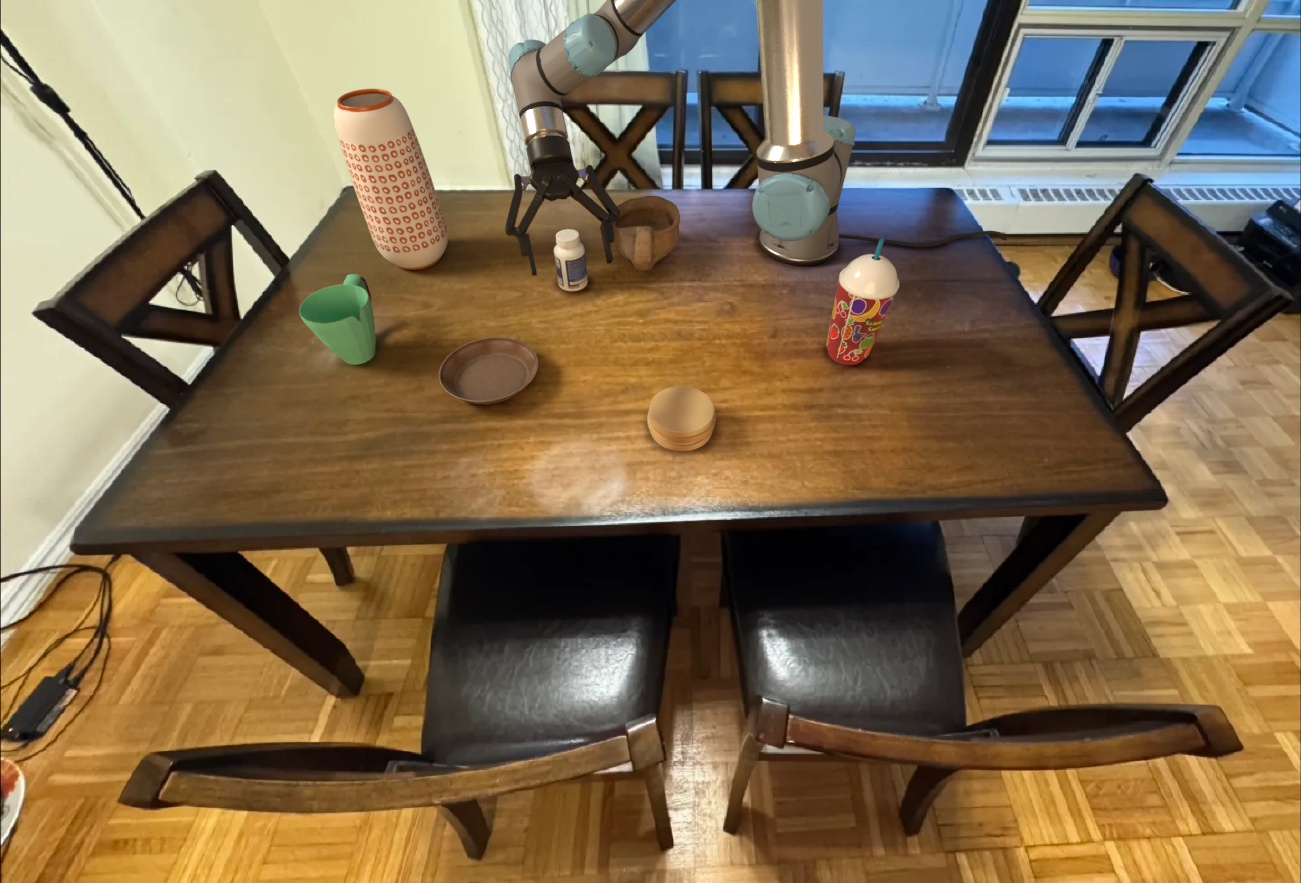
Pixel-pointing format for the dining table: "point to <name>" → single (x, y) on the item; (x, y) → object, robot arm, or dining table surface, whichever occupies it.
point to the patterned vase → (391, 178)
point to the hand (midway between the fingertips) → (572, 267)
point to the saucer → (488, 370)
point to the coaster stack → (681, 418)
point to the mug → (343, 319)
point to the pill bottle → (570, 261)
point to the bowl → (646, 230)
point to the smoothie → (861, 306)
